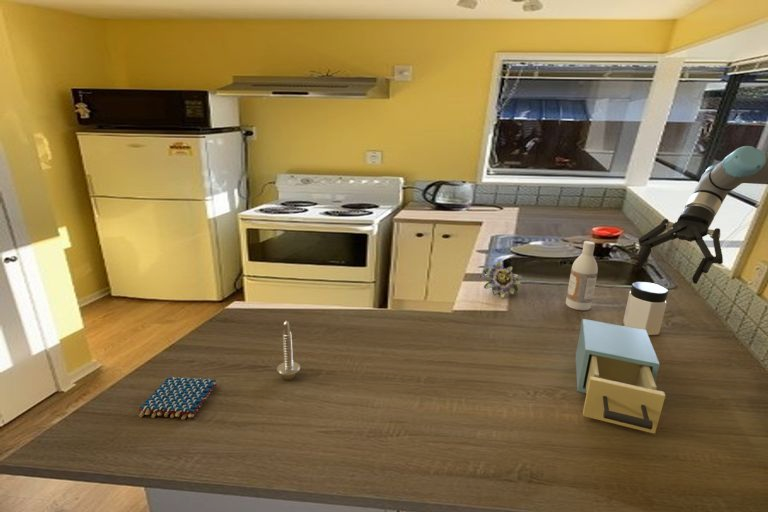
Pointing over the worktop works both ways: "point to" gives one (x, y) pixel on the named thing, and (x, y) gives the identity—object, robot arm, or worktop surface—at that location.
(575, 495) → the worktop surface
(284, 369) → the screw
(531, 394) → the worktop surface
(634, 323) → the jar
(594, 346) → the blue drawer cabinet
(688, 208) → the robot arm
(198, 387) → the woven mat
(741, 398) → the worktop surface
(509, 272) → the passion flower
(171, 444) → the worktop surface
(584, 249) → the bath foam
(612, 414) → the drawer
